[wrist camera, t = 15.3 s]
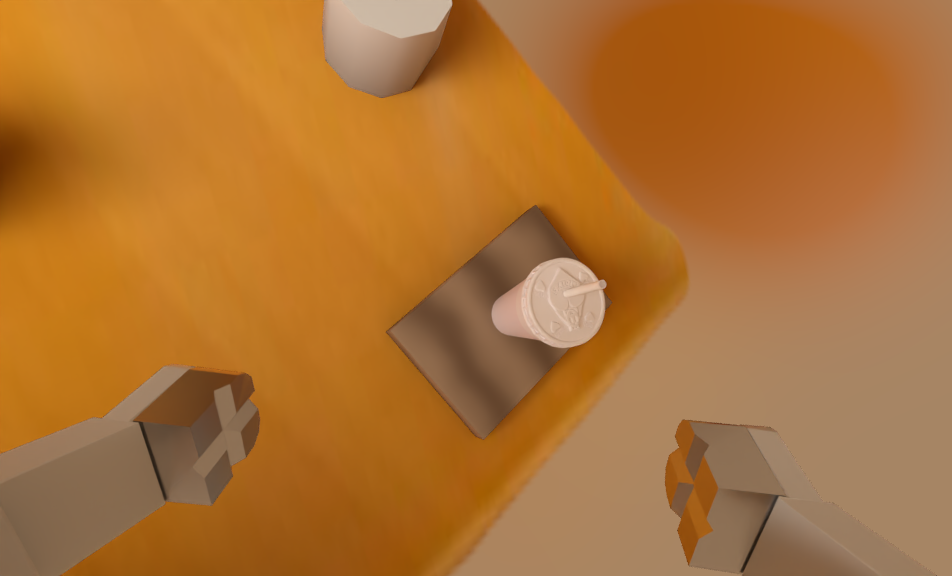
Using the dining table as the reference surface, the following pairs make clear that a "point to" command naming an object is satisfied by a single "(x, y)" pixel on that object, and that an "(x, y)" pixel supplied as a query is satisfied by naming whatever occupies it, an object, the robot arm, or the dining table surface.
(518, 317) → the smoothie
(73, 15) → the dining table surface
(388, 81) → the toilet tissue
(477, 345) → the walnut board
